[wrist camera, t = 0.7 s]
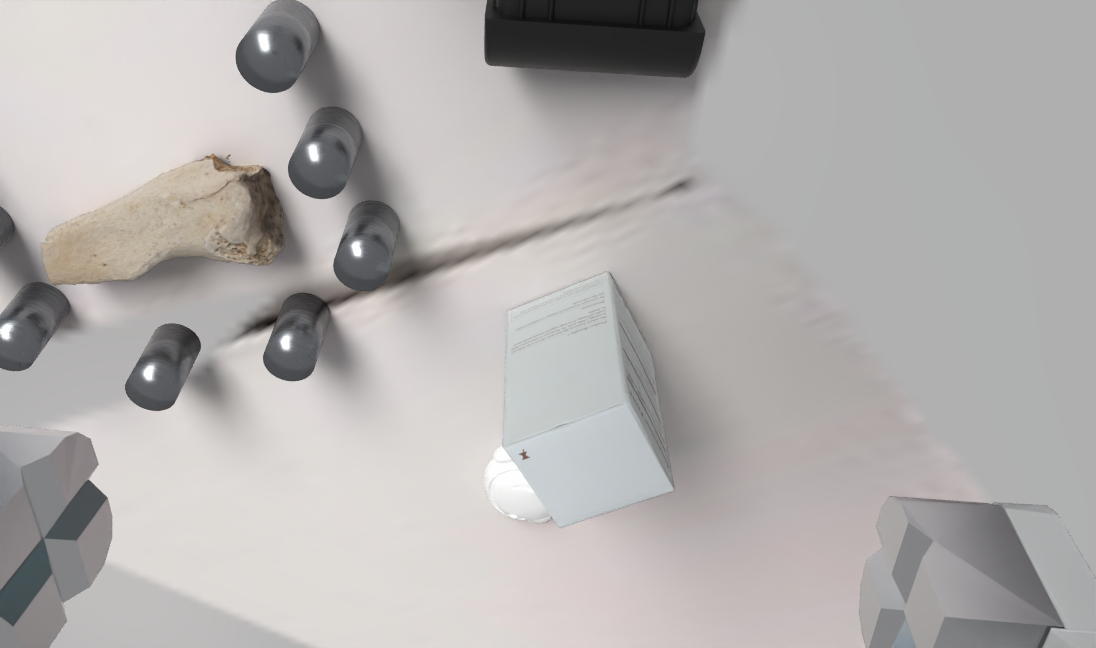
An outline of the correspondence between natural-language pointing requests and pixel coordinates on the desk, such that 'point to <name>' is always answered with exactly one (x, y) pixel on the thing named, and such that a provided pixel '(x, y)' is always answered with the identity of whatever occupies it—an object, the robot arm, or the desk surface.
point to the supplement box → (583, 403)
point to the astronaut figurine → (512, 490)
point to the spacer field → (314, 170)
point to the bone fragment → (171, 225)
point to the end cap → (595, 35)
